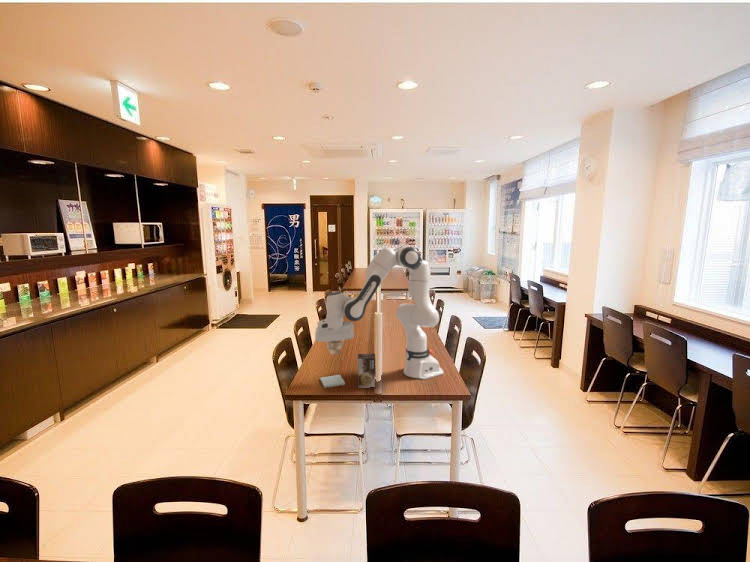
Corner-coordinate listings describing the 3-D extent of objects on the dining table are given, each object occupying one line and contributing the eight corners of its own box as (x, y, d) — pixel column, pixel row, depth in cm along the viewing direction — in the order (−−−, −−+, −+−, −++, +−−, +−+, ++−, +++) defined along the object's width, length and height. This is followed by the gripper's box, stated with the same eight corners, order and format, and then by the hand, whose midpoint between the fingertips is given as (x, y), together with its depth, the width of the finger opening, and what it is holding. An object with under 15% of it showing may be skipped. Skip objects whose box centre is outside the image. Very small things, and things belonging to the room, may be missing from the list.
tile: (339, 376, 193) (339, 374, 193) (345, 384, 183) (345, 382, 183) (320, 379, 190) (320, 377, 190) (324, 388, 180) (324, 386, 179)
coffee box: (375, 382, 186) (375, 353, 183) (375, 388, 180) (375, 357, 177) (358, 382, 186) (358, 353, 183) (358, 388, 179) (357, 358, 177)
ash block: (338, 350, 189) (338, 340, 188) (340, 353, 184) (340, 342, 183) (329, 351, 187) (329, 340, 186) (331, 354, 182) (331, 343, 182)
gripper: (352, 319, 190) (352, 344, 192) (314, 322, 183) (314, 348, 185) (355, 322, 184) (355, 348, 186) (316, 325, 177) (316, 351, 179)
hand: (334, 348), depth 185 cm, fingers closed on ash block, 5 cm apart
